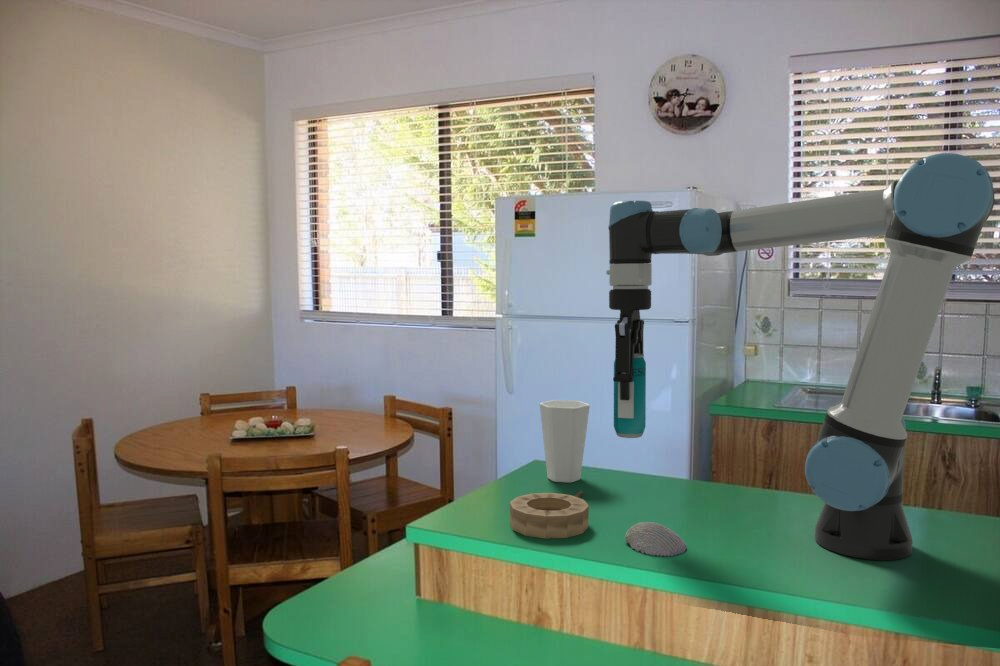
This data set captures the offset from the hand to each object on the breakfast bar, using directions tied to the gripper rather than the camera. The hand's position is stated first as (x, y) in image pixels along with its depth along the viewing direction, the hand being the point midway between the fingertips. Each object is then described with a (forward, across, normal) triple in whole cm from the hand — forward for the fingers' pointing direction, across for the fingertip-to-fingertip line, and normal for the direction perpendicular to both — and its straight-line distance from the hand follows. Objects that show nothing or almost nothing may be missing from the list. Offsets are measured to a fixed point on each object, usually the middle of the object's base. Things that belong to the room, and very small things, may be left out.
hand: (629, 414), depth 141 cm
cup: (+20, -26, -21) cm, 39 cm away
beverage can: (+4, 0, 0) cm, 4 cm away
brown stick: (+20, -8, -14) cm, 26 cm away
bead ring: (+20, +6, -14) cm, 25 cm away
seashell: (+21, +9, +6) cm, 24 cm away
